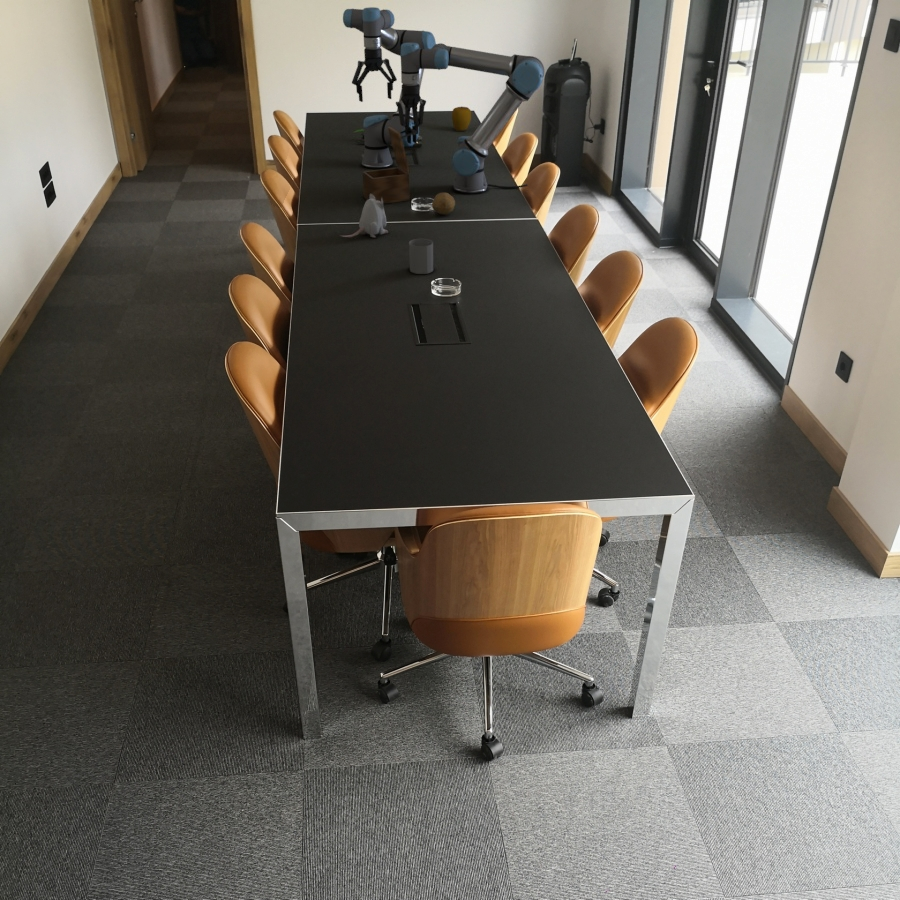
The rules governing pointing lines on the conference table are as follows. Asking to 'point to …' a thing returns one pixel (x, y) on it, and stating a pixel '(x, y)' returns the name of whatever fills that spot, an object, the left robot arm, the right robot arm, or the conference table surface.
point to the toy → (372, 218)
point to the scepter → (362, 137)
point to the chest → (386, 185)
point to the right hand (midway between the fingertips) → (411, 142)
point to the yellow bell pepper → (461, 118)
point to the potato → (443, 203)
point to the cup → (421, 256)
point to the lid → (400, 147)
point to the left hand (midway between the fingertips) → (375, 99)
